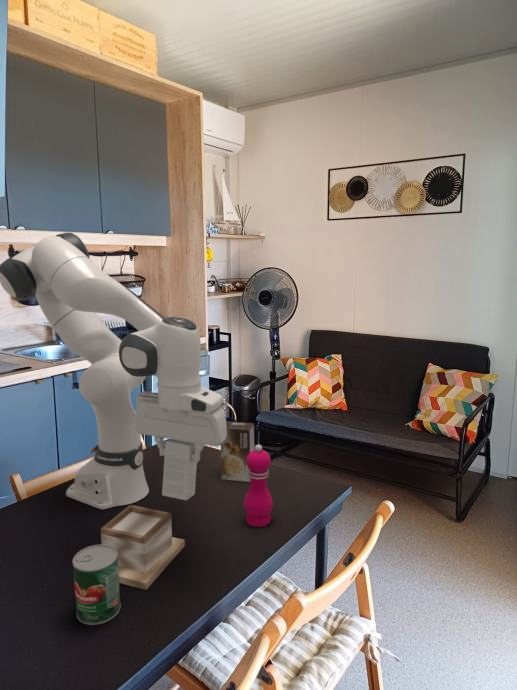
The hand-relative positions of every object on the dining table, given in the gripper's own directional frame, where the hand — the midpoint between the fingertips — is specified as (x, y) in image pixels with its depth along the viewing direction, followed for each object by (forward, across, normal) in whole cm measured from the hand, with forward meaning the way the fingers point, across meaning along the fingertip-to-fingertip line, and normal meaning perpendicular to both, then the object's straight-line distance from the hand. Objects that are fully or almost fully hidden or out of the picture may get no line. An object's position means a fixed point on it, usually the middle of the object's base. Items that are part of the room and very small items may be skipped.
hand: (179, 457), depth 106 cm
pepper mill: (+22, +12, +18) cm, 31 cm away
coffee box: (+23, -1, +40) cm, 46 cm away
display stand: (+23, -7, -5) cm, 24 cm away
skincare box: (+8, 0, -1) cm, 9 cm away
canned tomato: (+23, -6, -21) cm, 32 cm away
